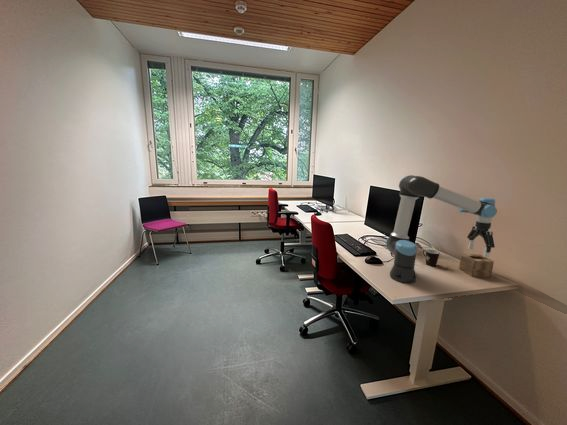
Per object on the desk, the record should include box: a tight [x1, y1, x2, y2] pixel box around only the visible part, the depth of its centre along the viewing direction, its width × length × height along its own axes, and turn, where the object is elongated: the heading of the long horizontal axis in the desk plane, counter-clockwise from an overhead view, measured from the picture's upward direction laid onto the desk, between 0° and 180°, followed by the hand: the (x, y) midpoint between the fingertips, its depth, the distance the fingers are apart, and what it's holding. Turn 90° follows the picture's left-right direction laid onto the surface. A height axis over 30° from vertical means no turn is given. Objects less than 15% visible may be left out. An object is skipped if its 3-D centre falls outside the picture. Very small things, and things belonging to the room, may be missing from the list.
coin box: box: [458, 253, 495, 278], centre depth 156 cm, size 12×12×11 cm
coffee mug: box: [422, 249, 440, 267], centre depth 170 cm, size 12×9×10 cm
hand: (477, 252), depth 154 cm, fingers open, 13 cm apart
